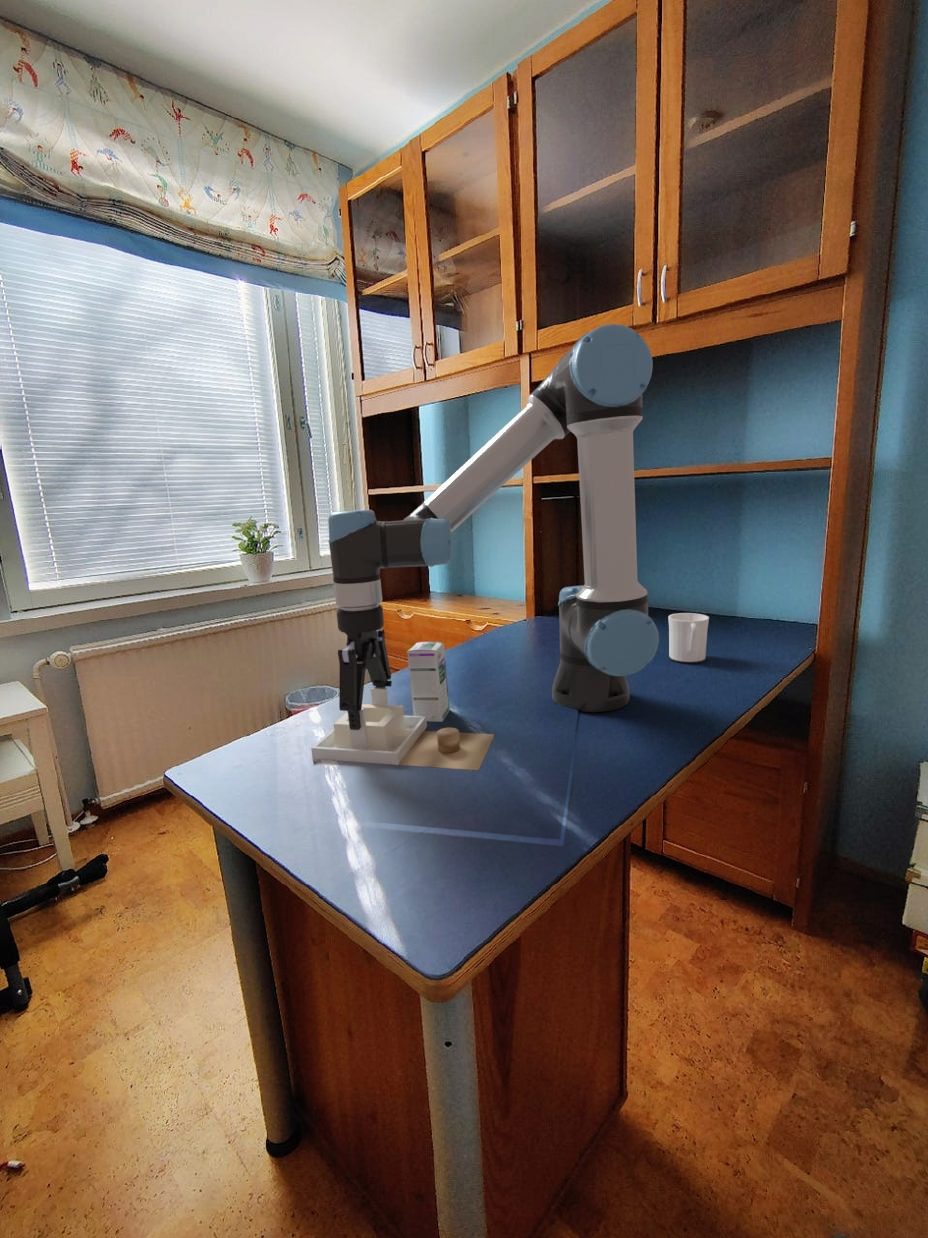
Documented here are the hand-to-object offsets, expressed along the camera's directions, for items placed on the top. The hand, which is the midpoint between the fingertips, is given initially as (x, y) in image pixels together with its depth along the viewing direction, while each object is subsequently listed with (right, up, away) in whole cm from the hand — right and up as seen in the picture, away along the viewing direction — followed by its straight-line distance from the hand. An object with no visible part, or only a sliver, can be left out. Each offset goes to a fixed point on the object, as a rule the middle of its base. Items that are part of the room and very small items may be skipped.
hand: (371, 733), depth 99 cm
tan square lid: (+14, -2, -4) cm, 14 cm away
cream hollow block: (+1, -1, 0) cm, 2 cm away
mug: (+69, +10, +37) cm, 79 cm away
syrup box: (+10, +1, +11) cm, 15 cm away
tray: (0, -2, 0) cm, 2 cm away
